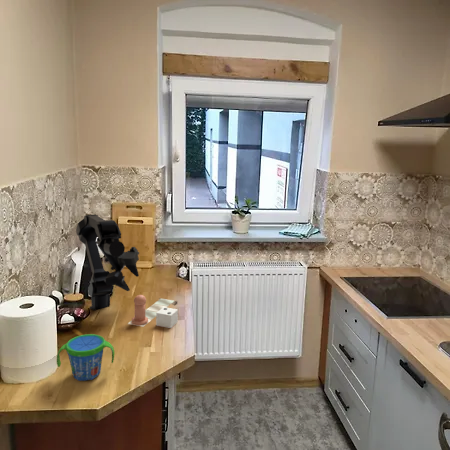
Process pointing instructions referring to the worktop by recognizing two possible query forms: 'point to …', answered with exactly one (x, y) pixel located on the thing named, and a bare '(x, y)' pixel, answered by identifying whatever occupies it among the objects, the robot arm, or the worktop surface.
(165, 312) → the die
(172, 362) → the worktop surface
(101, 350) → the snack cup
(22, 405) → the worktop surface
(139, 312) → the pawn
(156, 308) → the board
